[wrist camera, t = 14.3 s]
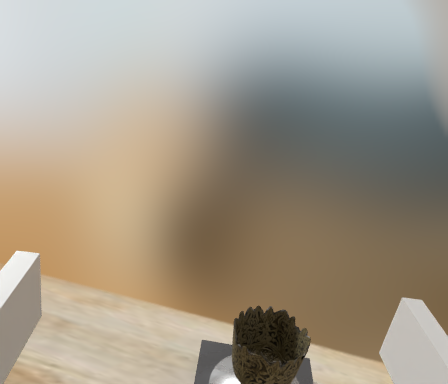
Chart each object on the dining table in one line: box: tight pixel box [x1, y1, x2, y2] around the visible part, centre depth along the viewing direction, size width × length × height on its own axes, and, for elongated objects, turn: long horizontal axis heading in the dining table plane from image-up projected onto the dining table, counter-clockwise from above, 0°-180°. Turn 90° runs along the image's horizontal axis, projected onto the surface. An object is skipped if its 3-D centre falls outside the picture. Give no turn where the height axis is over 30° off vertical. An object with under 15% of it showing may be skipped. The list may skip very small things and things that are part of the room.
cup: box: [232, 306, 311, 384], centre depth 41 cm, size 8×7×8 cm
